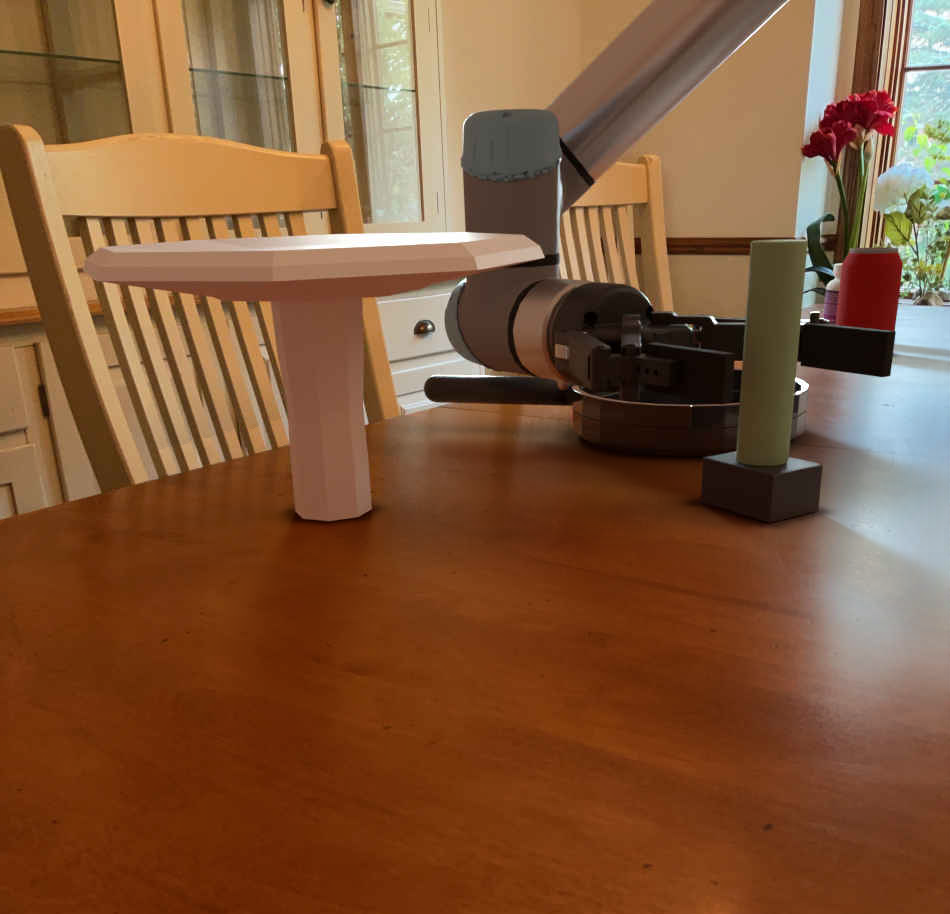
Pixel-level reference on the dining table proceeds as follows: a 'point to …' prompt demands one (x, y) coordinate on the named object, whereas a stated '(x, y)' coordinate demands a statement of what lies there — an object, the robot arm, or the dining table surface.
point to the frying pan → (667, 421)
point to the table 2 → (315, 324)
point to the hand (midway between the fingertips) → (813, 366)
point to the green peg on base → (767, 397)
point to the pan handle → (496, 390)
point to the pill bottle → (832, 296)
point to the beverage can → (870, 288)
